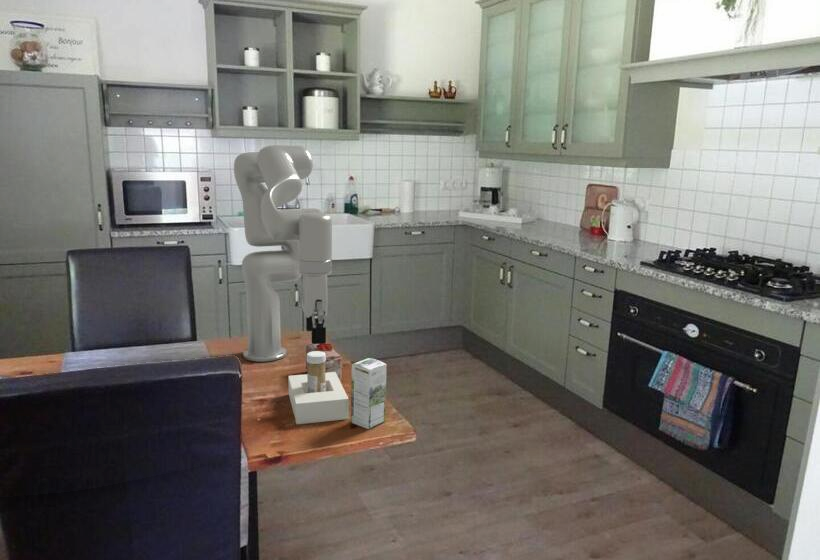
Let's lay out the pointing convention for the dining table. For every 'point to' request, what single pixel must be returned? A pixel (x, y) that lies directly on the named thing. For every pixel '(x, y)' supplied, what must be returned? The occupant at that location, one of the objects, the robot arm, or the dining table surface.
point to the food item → (327, 358)
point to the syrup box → (368, 393)
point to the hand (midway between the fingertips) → (315, 336)
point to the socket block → (318, 400)
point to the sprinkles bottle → (316, 371)
